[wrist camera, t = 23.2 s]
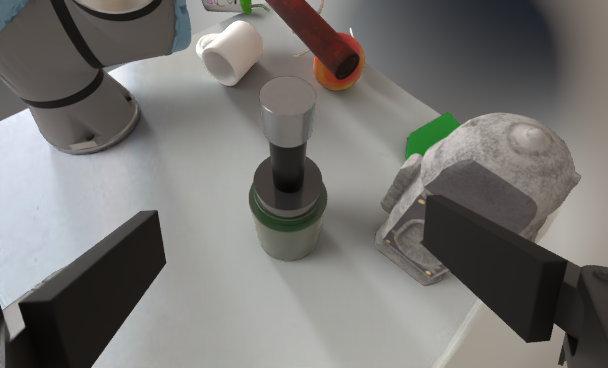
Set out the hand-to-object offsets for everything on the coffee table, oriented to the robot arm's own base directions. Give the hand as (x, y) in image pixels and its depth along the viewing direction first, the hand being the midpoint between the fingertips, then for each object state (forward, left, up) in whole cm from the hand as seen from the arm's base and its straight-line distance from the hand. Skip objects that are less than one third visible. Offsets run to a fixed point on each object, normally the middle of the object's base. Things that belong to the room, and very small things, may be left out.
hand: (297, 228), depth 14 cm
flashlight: (-4, +9, -13) cm, 16 cm away
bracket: (+14, +33, -26) cm, 45 cm away
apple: (-7, +42, -27) cm, 51 cm away
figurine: (+14, +15, -27) cm, 34 cm away
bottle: (-4, +10, -27) cm, 29 cm away
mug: (-30, +39, -27) cm, 56 cm away
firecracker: (-4, +36, -17) cm, 40 cm away
